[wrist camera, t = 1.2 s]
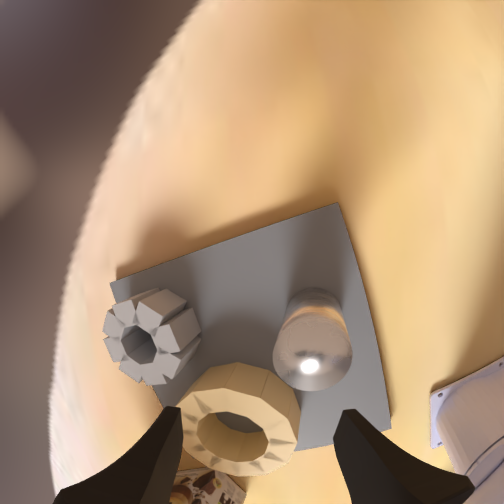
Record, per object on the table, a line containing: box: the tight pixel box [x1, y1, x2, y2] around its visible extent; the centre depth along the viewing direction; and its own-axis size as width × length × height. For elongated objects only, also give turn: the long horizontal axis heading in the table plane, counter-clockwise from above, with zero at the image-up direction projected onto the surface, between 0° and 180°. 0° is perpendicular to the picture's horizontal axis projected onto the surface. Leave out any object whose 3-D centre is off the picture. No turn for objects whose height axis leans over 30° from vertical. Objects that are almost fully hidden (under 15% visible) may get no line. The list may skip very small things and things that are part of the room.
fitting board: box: [102, 202, 392, 477], centre depth 20 cm, size 20×20×5 cm
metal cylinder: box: [273, 288, 353, 391], centre depth 17 cm, size 4×4×7 cm
